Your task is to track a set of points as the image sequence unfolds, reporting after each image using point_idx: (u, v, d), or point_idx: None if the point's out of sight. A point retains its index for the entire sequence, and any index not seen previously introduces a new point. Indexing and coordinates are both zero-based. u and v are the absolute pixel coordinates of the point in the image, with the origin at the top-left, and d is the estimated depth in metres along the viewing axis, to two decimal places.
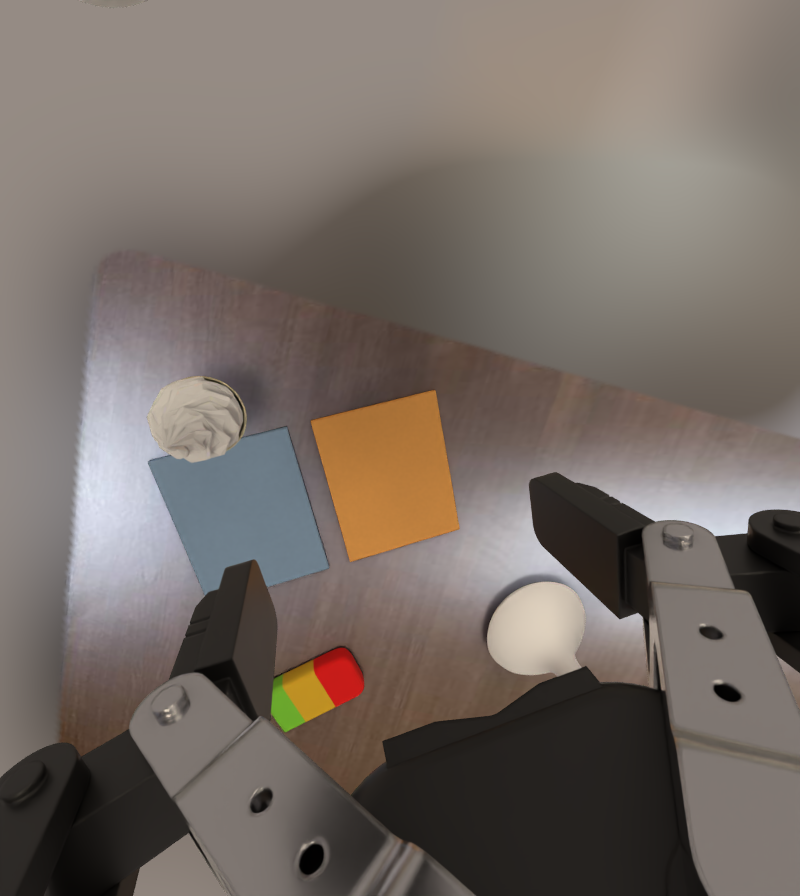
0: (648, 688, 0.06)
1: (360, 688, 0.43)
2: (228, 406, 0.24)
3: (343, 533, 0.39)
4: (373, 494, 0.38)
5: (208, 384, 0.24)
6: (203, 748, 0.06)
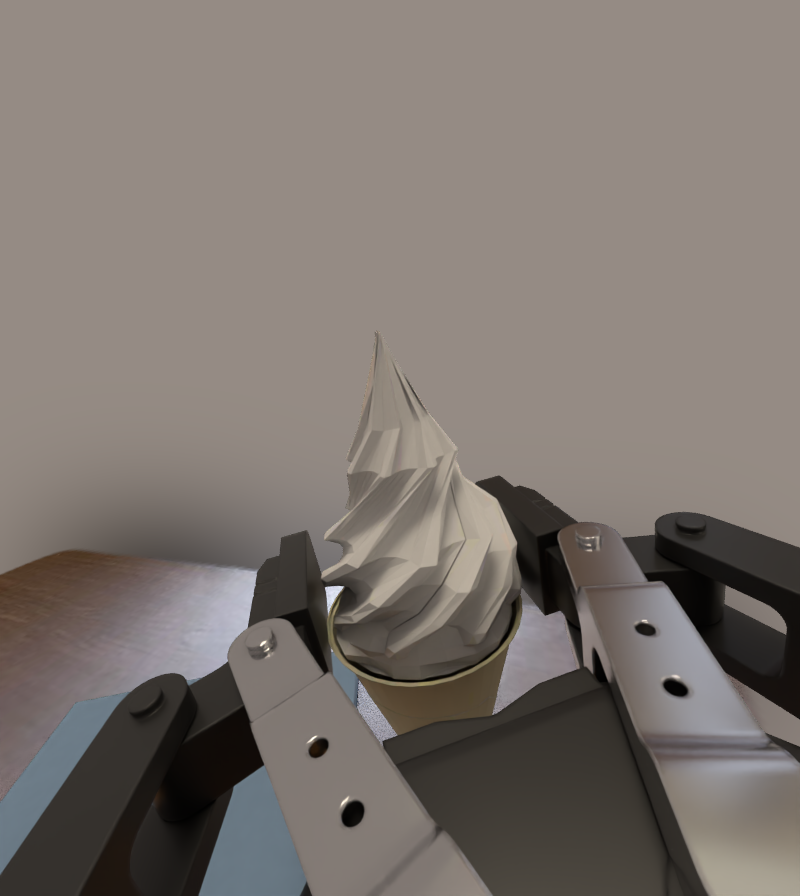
0: None
1: None
2: (444, 592, 0.09)
3: None
4: None
5: (506, 568, 0.09)
6: (280, 687, 0.07)
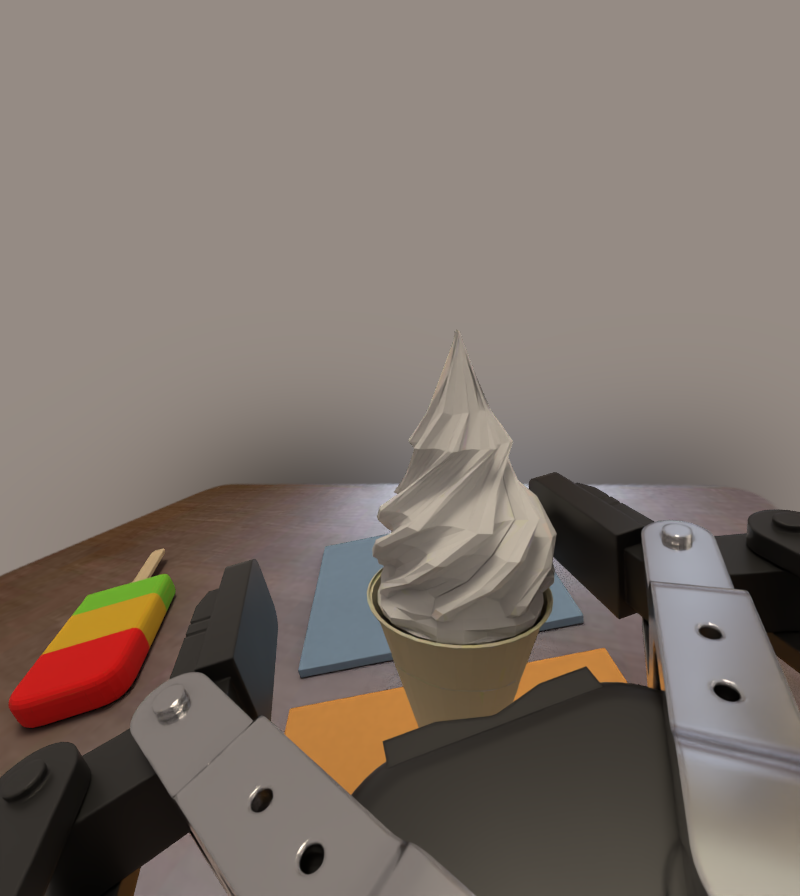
0: (648, 688, 0.06)
1: (20, 697, 0.21)
2: (494, 562, 0.09)
3: (358, 697, 0.18)
4: None
5: (547, 552, 0.10)
6: (203, 748, 0.06)
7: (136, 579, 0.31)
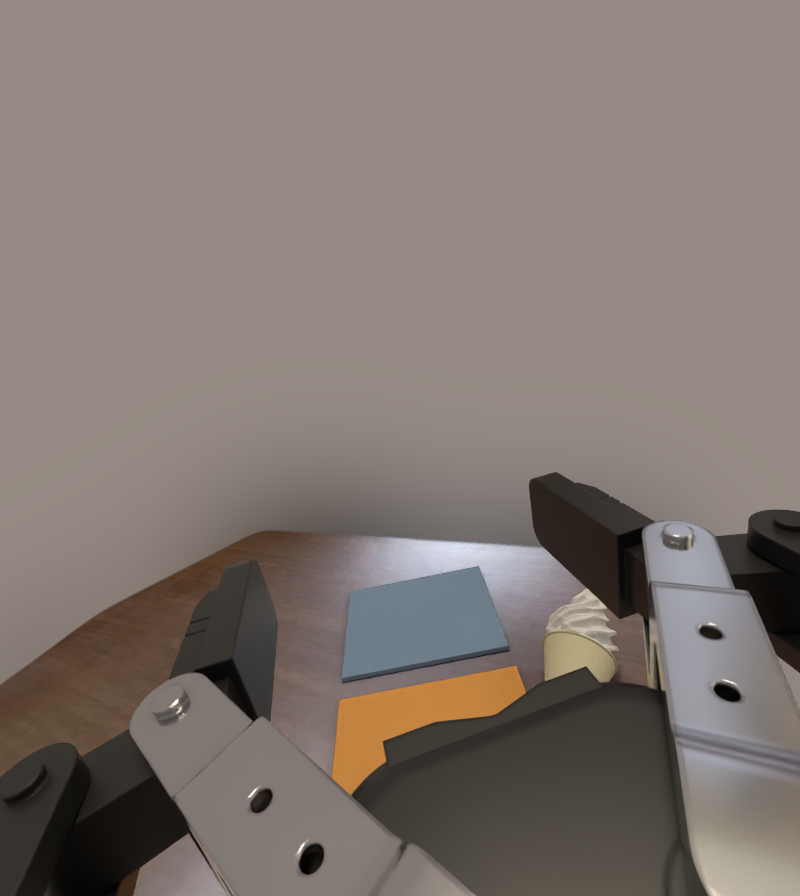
0: (648, 688, 0.06)
1: None
2: None
3: (378, 693, 0.33)
4: None
5: (549, 623, 0.32)
6: (203, 748, 0.06)
7: None
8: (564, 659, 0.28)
